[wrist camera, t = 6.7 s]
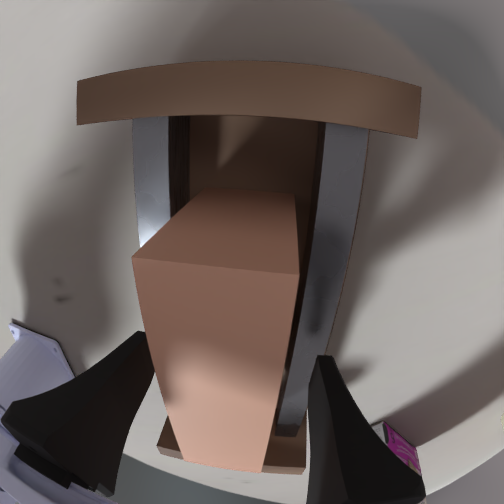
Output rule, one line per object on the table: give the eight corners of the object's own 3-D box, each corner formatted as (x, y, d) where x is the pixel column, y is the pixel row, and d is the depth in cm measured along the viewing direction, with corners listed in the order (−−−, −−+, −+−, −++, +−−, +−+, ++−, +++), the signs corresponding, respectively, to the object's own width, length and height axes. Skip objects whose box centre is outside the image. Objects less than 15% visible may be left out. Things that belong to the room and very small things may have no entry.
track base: (303, 410, 21) (301, 474, 16) (181, 394, 22) (160, 453, 16) (366, 98, 11) (421, 87, 6) (154, 88, 12) (77, 80, 7)
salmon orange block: (271, 377, 18) (260, 473, 12) (211, 370, 18) (184, 460, 12) (294, 194, 13) (299, 275, 6) (205, 187, 13) (131, 257, 7)
